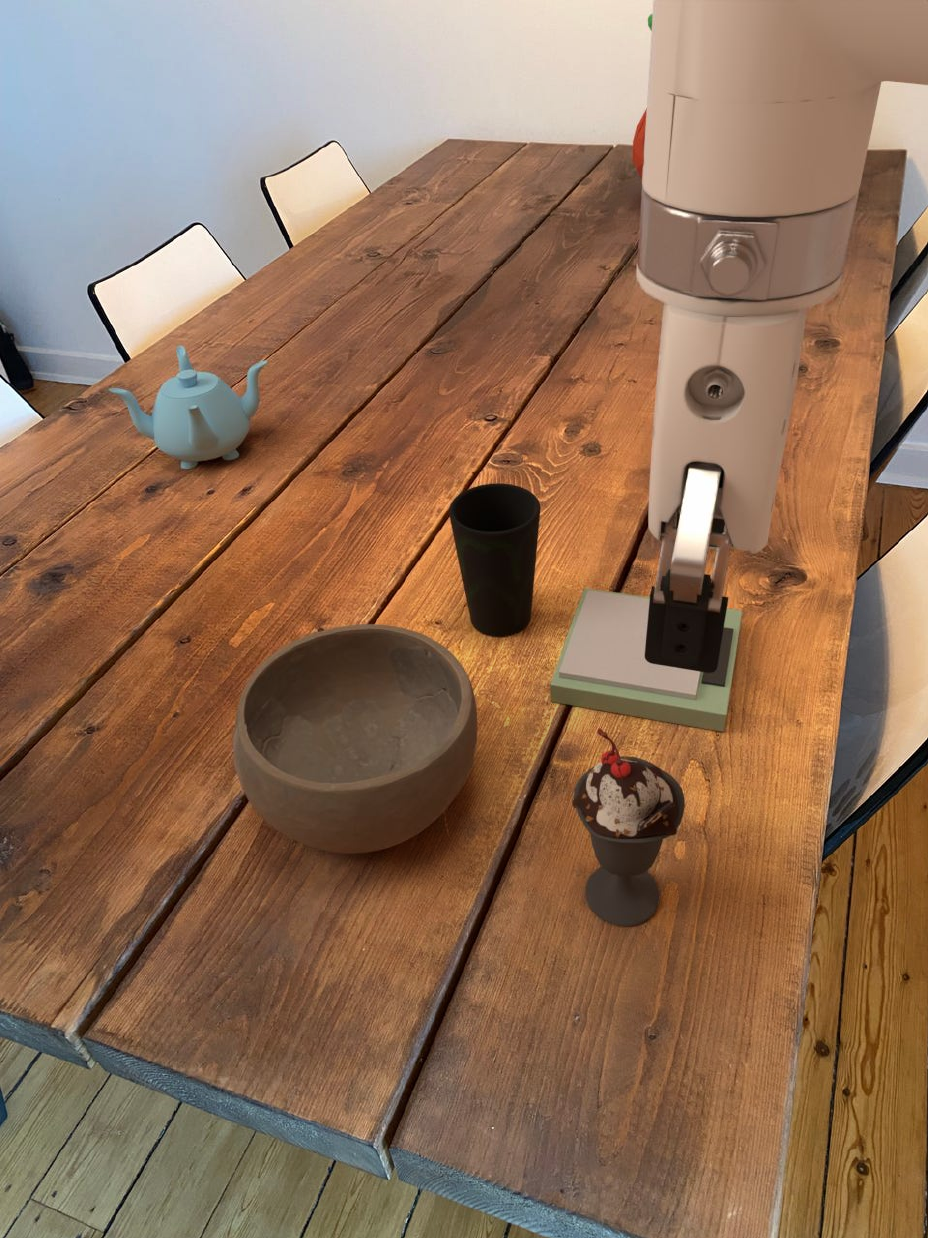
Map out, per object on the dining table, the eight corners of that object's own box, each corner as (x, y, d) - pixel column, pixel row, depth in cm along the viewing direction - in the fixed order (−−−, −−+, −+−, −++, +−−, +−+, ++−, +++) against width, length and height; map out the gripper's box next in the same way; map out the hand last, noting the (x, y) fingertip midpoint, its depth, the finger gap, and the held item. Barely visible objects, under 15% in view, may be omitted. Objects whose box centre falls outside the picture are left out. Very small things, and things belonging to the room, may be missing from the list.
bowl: (476, 699, 79) (468, 606, 72) (490, 880, 65) (482, 786, 59) (270, 715, 79) (244, 624, 73) (241, 900, 65) (206, 808, 59)
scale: (740, 627, 83) (743, 604, 82) (724, 732, 74) (727, 709, 73) (583, 604, 87) (584, 582, 86) (550, 701, 78) (549, 679, 76)
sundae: (568, 853, 67) (570, 703, 57) (665, 852, 66) (683, 701, 56) (573, 938, 62) (575, 789, 52) (678, 938, 61) (700, 787, 51)
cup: (550, 596, 89) (549, 487, 81) (531, 650, 83) (528, 538, 75) (471, 586, 91) (463, 478, 83) (448, 638, 85) (436, 527, 77)
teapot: (131, 465, 113) (104, 387, 106) (203, 415, 121) (182, 340, 115) (215, 487, 108) (192, 407, 101) (284, 433, 116) (267, 355, 110)
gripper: (845, 344, 28) (760, 740, 39) (850, 173, 40) (784, 510, 51) (593, 326, 30) (580, 707, 41) (672, 168, 42) (645, 493, 53)
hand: (694, 597), depth 46 cm, fingers open, 9 cm apart
